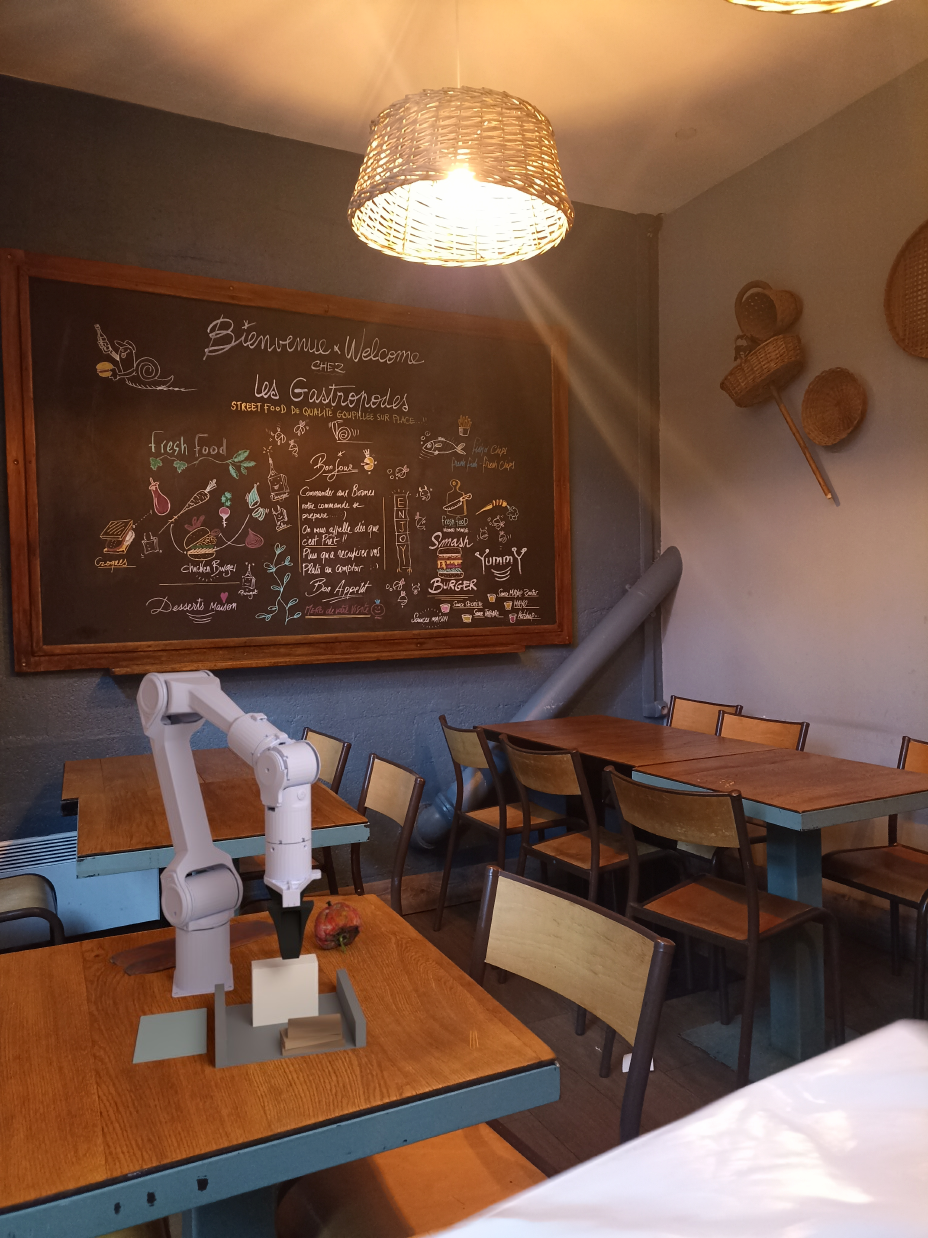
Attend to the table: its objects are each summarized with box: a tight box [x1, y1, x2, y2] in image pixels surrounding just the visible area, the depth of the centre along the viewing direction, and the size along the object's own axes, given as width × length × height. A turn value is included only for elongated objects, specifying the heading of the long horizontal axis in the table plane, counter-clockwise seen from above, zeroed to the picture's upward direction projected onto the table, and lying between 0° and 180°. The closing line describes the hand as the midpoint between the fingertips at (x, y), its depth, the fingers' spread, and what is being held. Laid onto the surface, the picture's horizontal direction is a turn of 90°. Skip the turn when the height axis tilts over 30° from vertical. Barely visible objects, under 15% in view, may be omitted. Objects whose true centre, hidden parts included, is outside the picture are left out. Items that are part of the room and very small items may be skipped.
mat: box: [132, 1007, 208, 1064], centre depth 104 cm, size 12×8×1 cm, turn 17°
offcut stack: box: [280, 1014, 345, 1056], centre depth 101 cm, size 4×7×2 cm, turn 107°
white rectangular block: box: [251, 953, 319, 1027], centre depth 108 cm, size 3×8×7 cm, turn 107°
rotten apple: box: [313, 900, 363, 954], centre depth 133 cm, size 7×7×10 cm
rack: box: [214, 968, 367, 1069], centre depth 106 cm, size 16×17×4 cm
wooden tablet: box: [109, 919, 277, 976], centre depth 135 cm, size 27×10×2 cm, turn 135°
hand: (289, 947), depth 108 cm, fingers open, 7 cm apart
